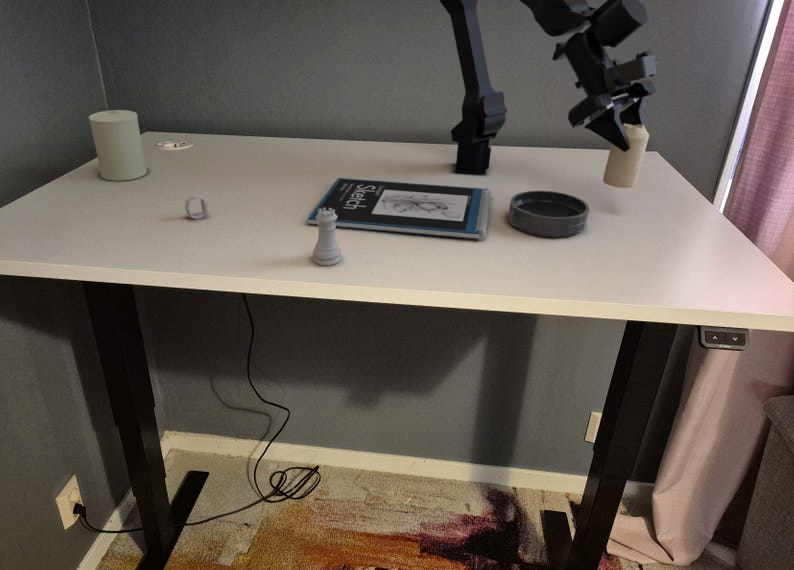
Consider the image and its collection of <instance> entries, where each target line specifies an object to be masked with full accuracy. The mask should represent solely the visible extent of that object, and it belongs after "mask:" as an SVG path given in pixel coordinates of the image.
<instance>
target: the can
mask: <svg viewBox="0 0 794 570" xmlns="http://www.w3.org/2000/svg"><path fill="white" fill-rule="evenodd" d="M88 121H89V124H90V128H91V133H92V137H93V142H94V146H95V151H96V156H97V161H98V165H99V170H100V171H99V173H100V177H101V178H102V179H104V180H106V181H113V182H115V181H116V182H117V181H118V182H121V181H122V182H123V181H131V180H136V179H139V178H141V177H144V176H145V175H147V173H148V168H147V164H146V161H145V156H144V155H145V154H144V150H143V144H142V138H141V131H140V125H139V120H138V113H137V112H135V111H132V110H126V109H113V110H112V109H111V110H103V111H99V112H95V113H92V114H90V115H89V116H88Z"/></svg>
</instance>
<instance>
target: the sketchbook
mask: <svg viewBox="0 0 794 570" xmlns="http://www.w3.org/2000/svg"><path fill="white" fill-rule="evenodd" d="M491 197H492V191H491V189H490V188H488V187H484V188H482V187H481V188H479V187H467V186H455V185H441V184H440V185H439V184H428V183H427V184H426V183H413V182H399V181H386V180H385V181H384V180H371V179H357V178H346V177H345V178H344V177H337V179H336V180H335V182H333V184H332V186H331V187H330V188H329V189H328V191H327V192H326V193H325V195H324V197H323V198H322V199H321V201H320V202H319V203H318V204H317V205H316V207H315V208H314V210H313V211H312V212H311V213H310V215H309V216H308V218H307V225H311V226H318V224H319V222H318V220H317V219H316V215H317V214H318V210H319V209H322V211H323V208H326V211H329V208H332V210H333V209H334V210H335V214H336V215H337V219H336V220H335V222H334V224H335V225H336V228H344V229H354V230H355V229H357V230H366V231H379V232H388V233H389V232H390V233H401V234H412V235H424V236H435V237H445V238H446V237H448V238H458V239H468V240H478V241H481V240H483V239H485V237H486V233H487V225H488V219H489V218H488V217H489V211H490V204H491Z"/></svg>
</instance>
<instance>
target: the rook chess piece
mask: <svg viewBox="0 0 794 570" xmlns="http://www.w3.org/2000/svg"><path fill="white" fill-rule="evenodd" d="M316 219H317V220H318V222H319V224H318V225H316V227H317V229H318V236H317V242H316V243H315V247H313V250H312V253H313V255H312V260H313V261H314V262H315V263H316V264H317V265H320V266H325V267H327V266H333V265H337V264H338V263H339V262H340V261H341V260H342V255H341V254H342V249H341V248H340V246H339V244H338V243H337V237H336V228H337V227H336V225H335V224H334V222H335V220H336V219H337V215H336V214H335V210H334V209H333V210H332V208H329V211H326V208H323V211H322V209H319V210H318V214H317V215H316Z"/></svg>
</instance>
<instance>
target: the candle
mask: <svg viewBox="0 0 794 570" xmlns="http://www.w3.org/2000/svg"><path fill="white" fill-rule="evenodd" d="M622 126H623V129H624V131H625V134H626V136H627V139H628V141H629V144H630V149H629V150H628V151H626V152H624V151H622V150H621V149H619V148H618V147H616V146H615V145H613V144H612V143H610V148H609V152H608V156H607V160H606V165H605V168H604V169H605V170H604V173H603V178H602V182H603V183H604V184H606V185H607V186H611V187H614V188H621V189H630V188H634V187H635V186H636V184H637V181H638V177H639V174H640V171H641V168H642V164H643V161H644V155H645V152H646V149H647V145H648V142H649V138H650V134H649V133H648V131H647V129H645V128H646V126H645V127H644V125H641V124H638V125H630V124H625V123H624V124H623V125H622Z"/></svg>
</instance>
